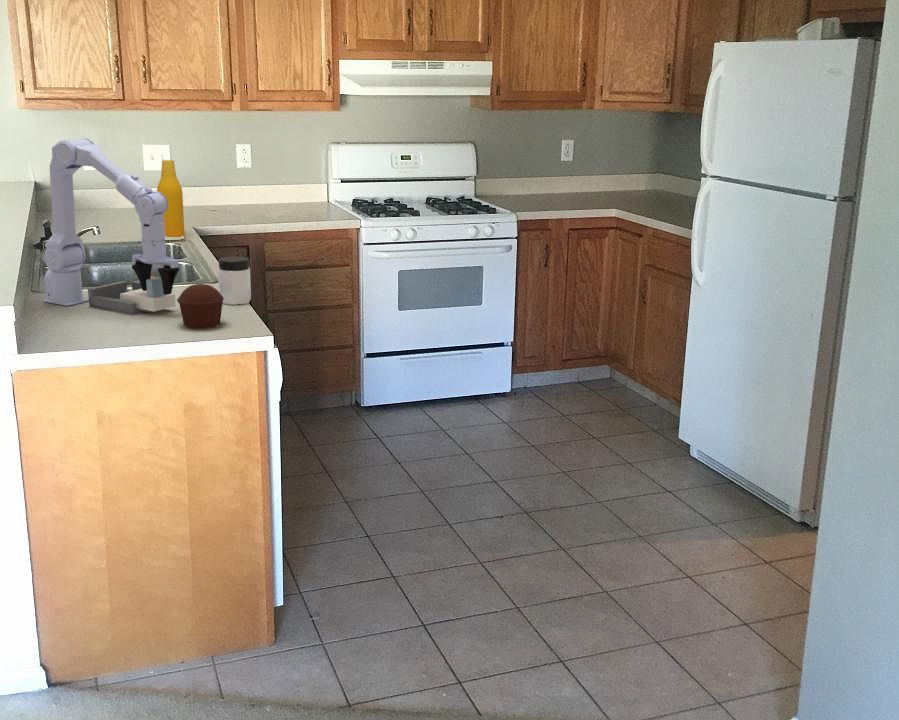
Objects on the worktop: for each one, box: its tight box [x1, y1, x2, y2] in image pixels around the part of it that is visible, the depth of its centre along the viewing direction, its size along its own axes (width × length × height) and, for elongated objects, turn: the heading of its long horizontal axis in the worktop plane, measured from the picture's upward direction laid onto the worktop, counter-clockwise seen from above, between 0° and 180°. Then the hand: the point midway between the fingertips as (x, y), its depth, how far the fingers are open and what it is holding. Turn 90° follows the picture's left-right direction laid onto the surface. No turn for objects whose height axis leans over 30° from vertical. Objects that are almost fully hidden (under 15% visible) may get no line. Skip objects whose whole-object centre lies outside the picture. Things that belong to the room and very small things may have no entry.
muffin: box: [176, 283, 224, 330], centre depth 243 cm, size 12×11×10 cm
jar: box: [218, 255, 252, 306], centre depth 267 cm, size 9×8×12 cm
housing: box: [87, 279, 149, 316], centre depth 263 cm, size 16×19×5 cm
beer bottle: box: [156, 159, 186, 237], centre depth 361 cm, size 9×9×29 cm
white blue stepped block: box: [120, 276, 177, 312], centre depth 255 cm, size 12×8×8 cm, turn 61°
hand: (157, 292), depth 254 cm, fingers open, 7 cm apart
